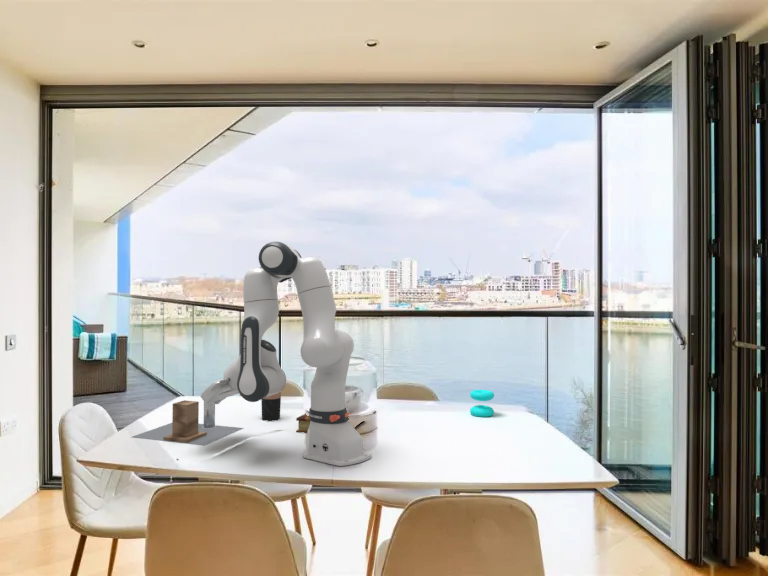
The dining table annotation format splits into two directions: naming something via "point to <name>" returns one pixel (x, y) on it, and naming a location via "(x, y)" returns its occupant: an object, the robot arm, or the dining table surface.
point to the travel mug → (271, 407)
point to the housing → (185, 422)
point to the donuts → (482, 409)
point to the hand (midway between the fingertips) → (211, 404)
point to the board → (211, 436)
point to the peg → (209, 416)
